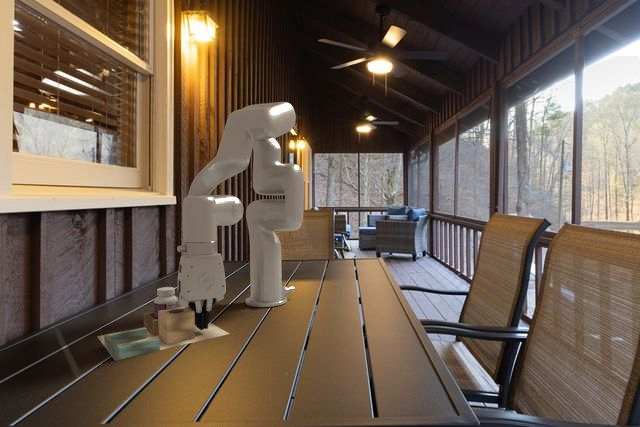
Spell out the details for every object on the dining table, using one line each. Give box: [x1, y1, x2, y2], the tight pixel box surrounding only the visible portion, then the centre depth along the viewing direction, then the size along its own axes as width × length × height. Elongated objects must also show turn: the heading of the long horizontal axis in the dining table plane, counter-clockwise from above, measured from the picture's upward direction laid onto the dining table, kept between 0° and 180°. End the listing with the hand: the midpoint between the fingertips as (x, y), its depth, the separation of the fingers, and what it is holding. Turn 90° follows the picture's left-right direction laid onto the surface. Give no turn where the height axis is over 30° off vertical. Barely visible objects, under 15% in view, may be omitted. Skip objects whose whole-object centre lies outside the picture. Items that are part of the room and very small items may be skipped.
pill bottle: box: [153, 286, 179, 320], centre depth 97 cm, size 5×5×10 cm
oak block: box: [158, 306, 195, 345], centre depth 90 cm, size 6×6×6 cm
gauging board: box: [96, 322, 231, 361], centre depth 92 cm, size 24×18×3 cm
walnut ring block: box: [143, 311, 159, 336], centre depth 97 cm, size 8×8×4 cm
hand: (202, 327), depth 93 cm, fingers closed
